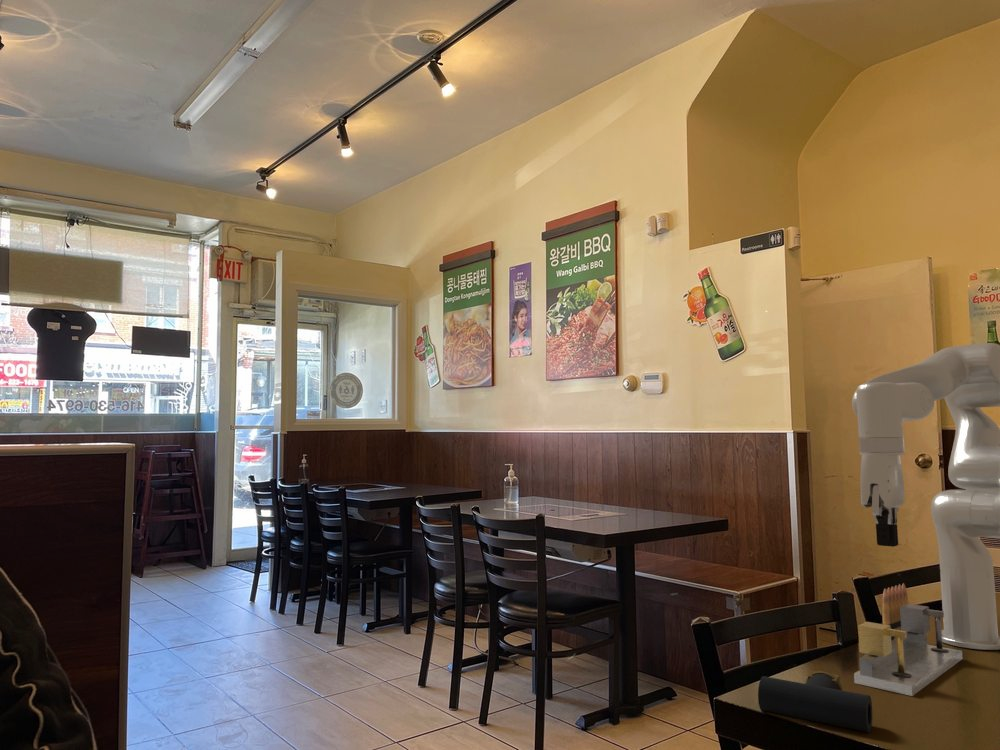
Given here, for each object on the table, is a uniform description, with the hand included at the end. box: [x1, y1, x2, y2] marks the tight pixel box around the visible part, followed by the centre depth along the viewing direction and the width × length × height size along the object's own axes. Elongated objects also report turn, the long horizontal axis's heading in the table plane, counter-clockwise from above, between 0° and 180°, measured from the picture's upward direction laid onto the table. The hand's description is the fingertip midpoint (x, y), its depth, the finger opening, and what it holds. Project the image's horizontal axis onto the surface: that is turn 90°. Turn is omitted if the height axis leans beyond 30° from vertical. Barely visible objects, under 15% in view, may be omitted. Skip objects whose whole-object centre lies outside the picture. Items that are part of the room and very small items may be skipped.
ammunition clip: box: [880, 582, 910, 641], centre depth 147 cm, size 11×2×12 cm, turn 129°
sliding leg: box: [857, 621, 907, 674], centre depth 124 cm, size 4×7×7 cm, turn 44°
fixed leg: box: [900, 603, 944, 649], centre depth 139 cm, size 4×7×7 cm, turn 44°
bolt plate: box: [853, 632, 964, 697], centre depth 130 cm, size 30×9×4 cm, turn 134°
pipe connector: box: [757, 670, 873, 734], centre depth 109 cm, size 12×5×15 cm
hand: (887, 545), depth 133 cm, fingers closed
